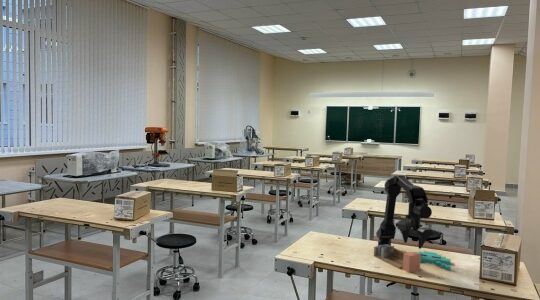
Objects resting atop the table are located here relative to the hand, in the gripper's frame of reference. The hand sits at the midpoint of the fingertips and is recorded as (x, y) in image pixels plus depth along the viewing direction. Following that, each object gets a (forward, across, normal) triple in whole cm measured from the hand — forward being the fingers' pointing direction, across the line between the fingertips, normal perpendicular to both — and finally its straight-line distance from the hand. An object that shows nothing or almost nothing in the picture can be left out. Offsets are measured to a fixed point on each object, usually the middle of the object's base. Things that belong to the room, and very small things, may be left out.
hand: (412, 245), depth 186 cm
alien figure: (+13, -7, +19) cm, 24 cm away
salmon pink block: (+12, 0, 0) cm, 12 cm away
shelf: (+12, -12, 0) cm, 17 cm away
